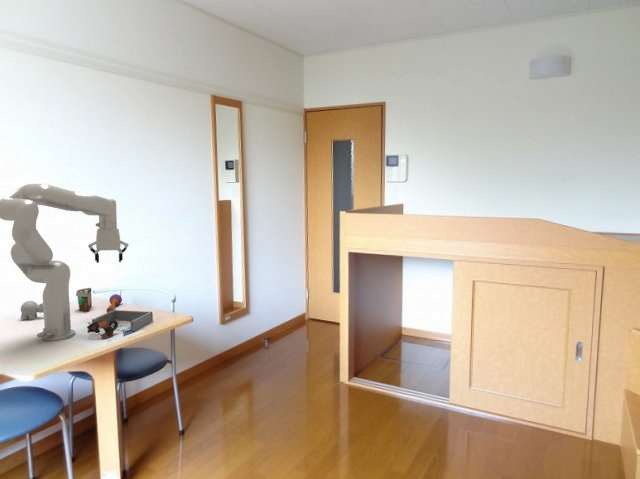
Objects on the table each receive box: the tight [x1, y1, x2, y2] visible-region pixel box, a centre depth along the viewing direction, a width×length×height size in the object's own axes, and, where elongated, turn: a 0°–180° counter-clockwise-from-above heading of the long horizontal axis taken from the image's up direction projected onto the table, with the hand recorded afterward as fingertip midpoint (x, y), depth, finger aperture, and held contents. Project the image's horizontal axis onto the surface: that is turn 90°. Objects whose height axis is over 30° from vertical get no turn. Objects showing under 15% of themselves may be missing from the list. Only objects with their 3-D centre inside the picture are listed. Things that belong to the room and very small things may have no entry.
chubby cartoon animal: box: [20, 300, 44, 321], centre depth 224 cm, size 7×12×8 cm, turn 101°
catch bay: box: [91, 309, 154, 332], centre depth 213 cm, size 16×19×4 cm
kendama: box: [105, 293, 123, 313], centre depth 243 cm, size 6×6×20 cm
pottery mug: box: [86, 319, 119, 340], centre depth 199 cm, size 12×10×8 cm
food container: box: [75, 287, 93, 313], centre depth 239 cm, size 12×6×10 cm, turn 17°
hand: (109, 262), depth 223 cm, fingers open, 9 cm apart
